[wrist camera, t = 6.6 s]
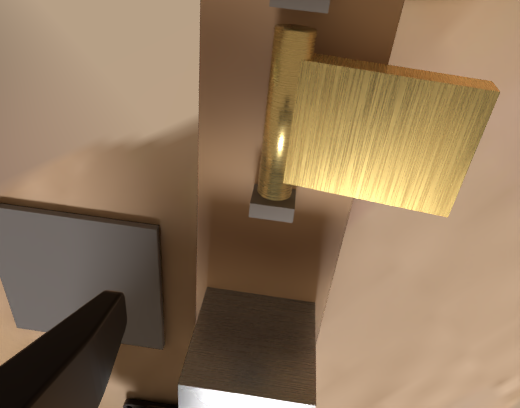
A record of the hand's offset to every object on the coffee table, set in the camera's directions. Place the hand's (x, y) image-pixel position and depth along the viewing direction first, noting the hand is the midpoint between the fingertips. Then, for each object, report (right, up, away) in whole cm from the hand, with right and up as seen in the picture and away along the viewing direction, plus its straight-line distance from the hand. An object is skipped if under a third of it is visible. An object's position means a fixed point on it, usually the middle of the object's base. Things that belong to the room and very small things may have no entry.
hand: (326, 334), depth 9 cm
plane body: (-1, +3, +12) cm, 12 cm away
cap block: (-2, -4, +12) cm, 12 cm away
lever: (-1, +6, +4) cm, 7 cm away
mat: (-12, -2, +17) cm, 21 cm away
